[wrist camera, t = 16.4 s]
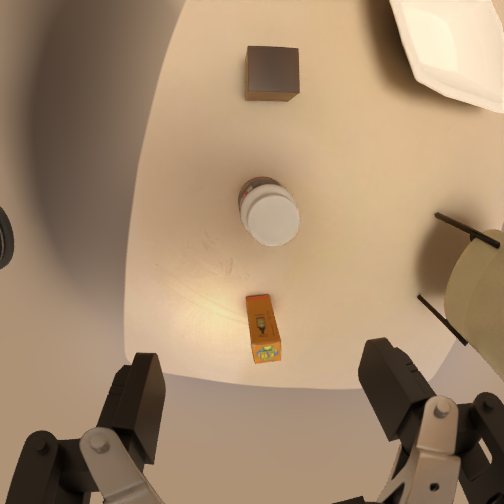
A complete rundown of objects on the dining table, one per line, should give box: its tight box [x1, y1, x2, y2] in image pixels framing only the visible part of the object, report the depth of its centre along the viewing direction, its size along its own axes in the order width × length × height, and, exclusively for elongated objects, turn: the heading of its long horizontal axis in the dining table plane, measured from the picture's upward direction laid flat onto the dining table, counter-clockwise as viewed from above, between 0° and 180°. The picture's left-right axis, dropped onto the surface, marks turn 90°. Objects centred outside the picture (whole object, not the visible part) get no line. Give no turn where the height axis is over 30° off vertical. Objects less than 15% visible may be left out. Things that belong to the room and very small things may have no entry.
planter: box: [417, 212, 504, 381], centre depth 29 cm, size 15×16×23 cm
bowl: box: [389, 0, 504, 113], centre depth 23 cm, size 22×23×8 cm
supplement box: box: [246, 295, 281, 364], centre depth 35 cm, size 3×3×10 cm
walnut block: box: [245, 46, 300, 101], centre depth 27 cm, size 5×5×6 cm
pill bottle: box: [238, 177, 300, 247], centre depth 30 cm, size 6×6×10 cm
